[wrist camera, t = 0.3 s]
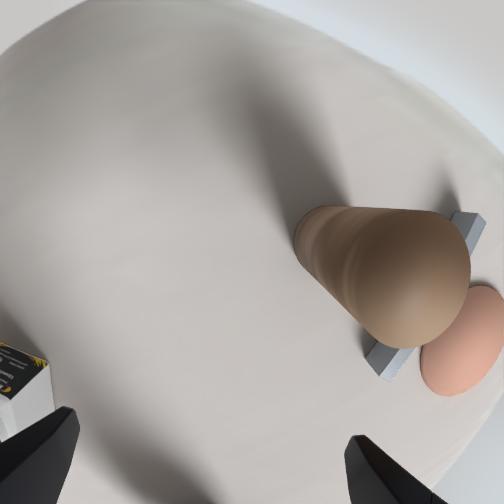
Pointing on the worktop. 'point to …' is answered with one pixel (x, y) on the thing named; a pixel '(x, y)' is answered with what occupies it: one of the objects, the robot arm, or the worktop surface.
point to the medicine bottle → (23, 391)
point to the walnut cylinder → (388, 268)
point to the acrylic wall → (392, 359)
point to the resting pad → (466, 344)
